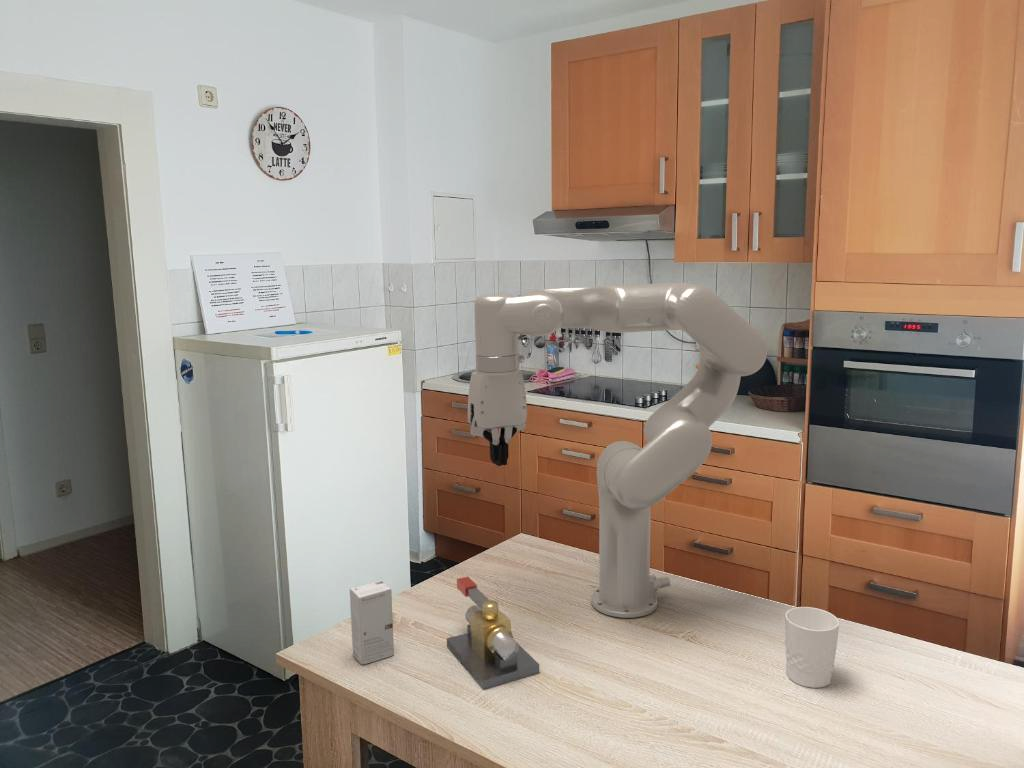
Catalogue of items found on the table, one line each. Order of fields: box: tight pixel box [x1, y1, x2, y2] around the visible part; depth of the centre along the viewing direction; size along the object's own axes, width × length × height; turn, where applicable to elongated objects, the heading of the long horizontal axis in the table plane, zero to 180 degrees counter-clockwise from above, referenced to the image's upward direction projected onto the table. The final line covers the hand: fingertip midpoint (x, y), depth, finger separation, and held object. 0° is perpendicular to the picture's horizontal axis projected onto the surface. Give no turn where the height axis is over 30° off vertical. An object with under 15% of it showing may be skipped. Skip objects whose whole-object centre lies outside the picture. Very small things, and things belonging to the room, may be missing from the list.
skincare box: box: [349, 580, 395, 666], centre depth 132 cm, size 6×4×12 cm
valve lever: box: [456, 576, 499, 619], centre depth 135 cm, size 13×3×2 cm, turn 26°
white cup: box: [784, 606, 840, 689], centre depth 124 cm, size 8×8×10 cm
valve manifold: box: [446, 604, 540, 691], centre depth 131 cm, size 10×15×8 cm, turn 27°
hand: (499, 463), depth 142 cm, fingers closed
